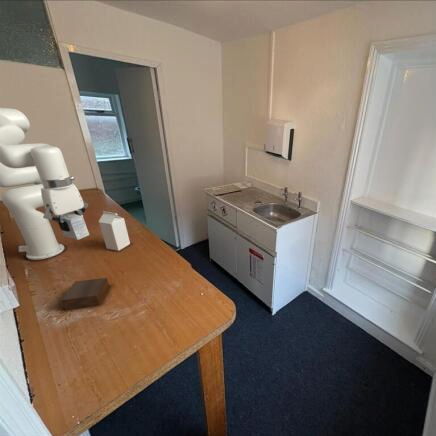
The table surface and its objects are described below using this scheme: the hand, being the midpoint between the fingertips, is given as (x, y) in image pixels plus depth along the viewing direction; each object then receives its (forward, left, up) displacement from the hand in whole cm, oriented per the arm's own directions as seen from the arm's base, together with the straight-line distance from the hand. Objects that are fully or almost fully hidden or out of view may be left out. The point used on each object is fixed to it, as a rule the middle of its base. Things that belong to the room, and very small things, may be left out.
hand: (73, 227), depth 90 cm
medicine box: (0, 0, -4) cm, 4 cm away
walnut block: (+6, -17, -22) cm, 28 cm away
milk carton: (+5, +20, -22) cm, 30 cm away
